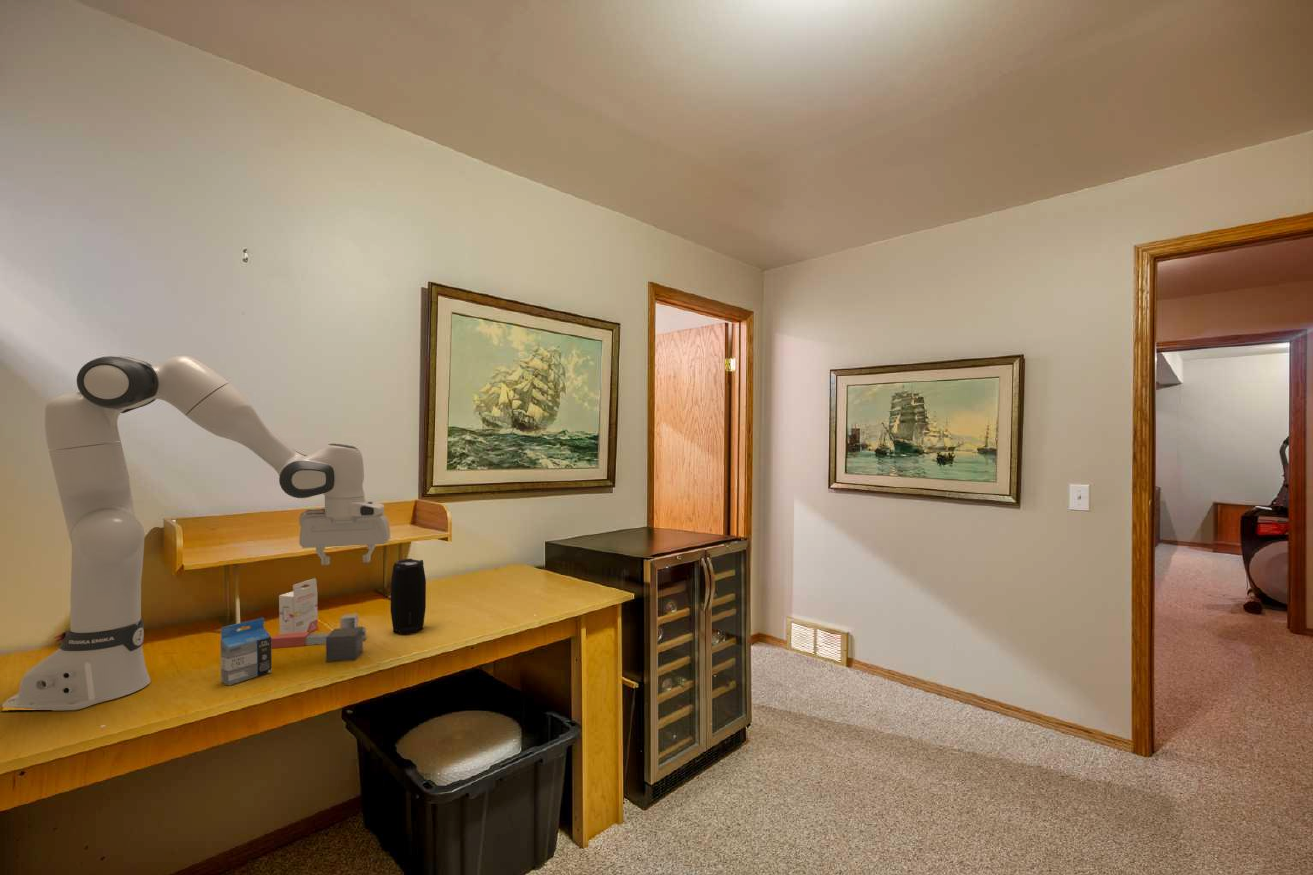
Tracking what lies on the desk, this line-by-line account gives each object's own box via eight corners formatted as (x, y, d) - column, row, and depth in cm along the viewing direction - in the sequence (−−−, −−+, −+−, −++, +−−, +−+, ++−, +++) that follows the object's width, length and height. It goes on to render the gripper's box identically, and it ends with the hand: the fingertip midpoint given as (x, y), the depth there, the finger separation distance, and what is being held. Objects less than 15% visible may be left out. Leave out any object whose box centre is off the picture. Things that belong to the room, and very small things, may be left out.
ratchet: (267, 651, 148) (267, 625, 148) (279, 640, 156) (279, 616, 156) (361, 644, 154) (361, 619, 154) (368, 634, 161) (369, 610, 161)
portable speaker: (396, 626, 169) (396, 558, 169) (429, 625, 170) (430, 557, 170) (385, 636, 160) (386, 564, 160) (420, 635, 161) (421, 564, 161)
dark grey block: (326, 662, 141) (326, 637, 141) (334, 652, 148) (334, 628, 148) (355, 659, 143) (356, 635, 143) (362, 650, 149) (362, 626, 149)
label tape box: (228, 686, 128) (228, 630, 128) (219, 682, 130) (220, 627, 130) (272, 673, 135) (272, 619, 135) (263, 669, 137) (263, 616, 137)
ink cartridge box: (303, 628, 166) (303, 576, 166) (318, 629, 166) (318, 577, 165) (278, 638, 158) (278, 583, 158) (293, 639, 157) (293, 584, 157)
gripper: (294, 511, 141) (295, 568, 141) (385, 508, 145) (386, 563, 146) (303, 508, 147) (305, 562, 147) (391, 505, 151) (392, 558, 152)
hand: (346, 563), depth 147 cm, fingers open, 8 cm apart
